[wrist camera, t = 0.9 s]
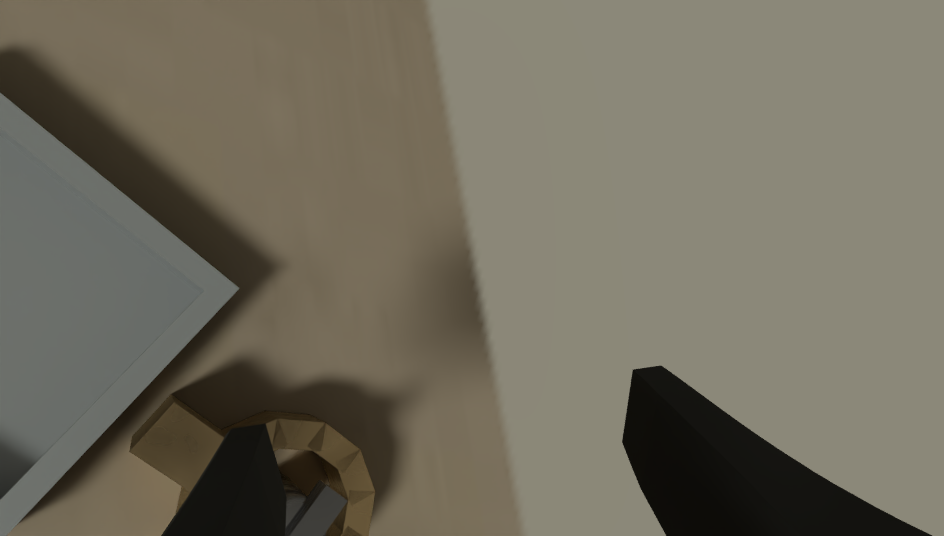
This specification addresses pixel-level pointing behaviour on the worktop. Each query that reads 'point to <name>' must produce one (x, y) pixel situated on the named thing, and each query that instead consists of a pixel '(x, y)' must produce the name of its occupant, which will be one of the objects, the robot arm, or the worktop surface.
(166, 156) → the worktop surface
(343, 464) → the ring
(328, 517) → the bolt
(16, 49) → the worktop surface
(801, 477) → the robot arm
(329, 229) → the worktop surface
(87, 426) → the tray
